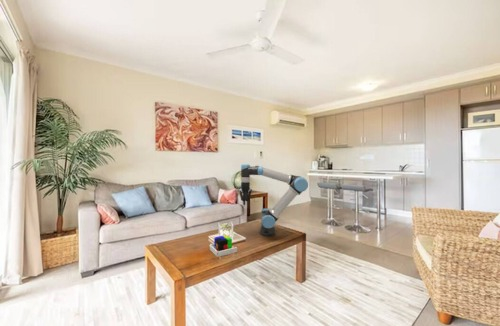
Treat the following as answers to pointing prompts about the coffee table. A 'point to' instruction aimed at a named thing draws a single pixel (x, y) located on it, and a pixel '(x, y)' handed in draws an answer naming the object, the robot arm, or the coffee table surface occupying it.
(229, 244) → the puzzle toy
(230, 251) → the tray
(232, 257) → the coffee table surface
